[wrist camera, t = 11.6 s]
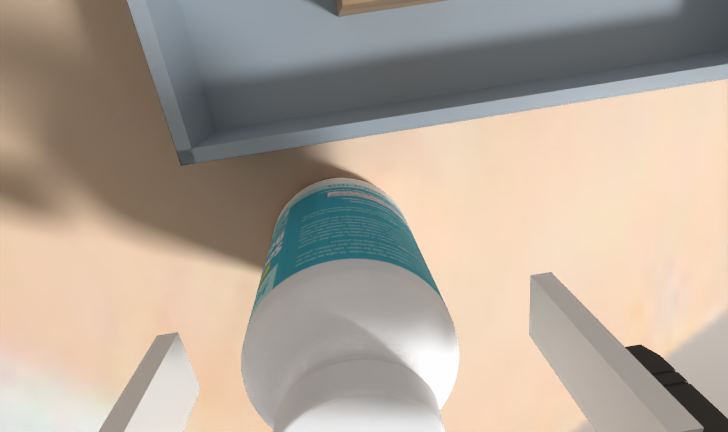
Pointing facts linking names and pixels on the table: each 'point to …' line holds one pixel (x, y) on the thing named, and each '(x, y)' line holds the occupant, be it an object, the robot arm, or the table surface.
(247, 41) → the tote
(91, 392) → the table surface
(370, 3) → the walnut cube
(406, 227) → the pill bottle
